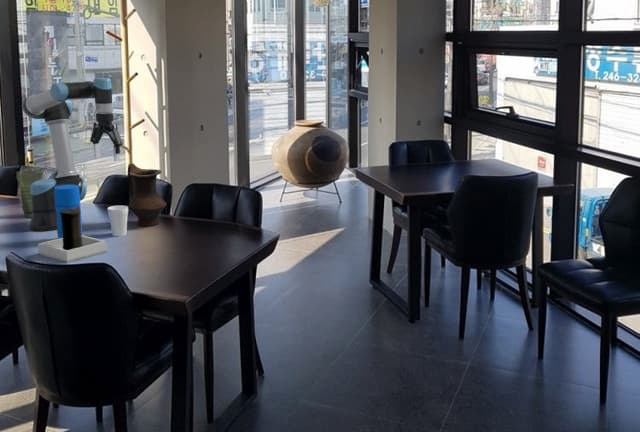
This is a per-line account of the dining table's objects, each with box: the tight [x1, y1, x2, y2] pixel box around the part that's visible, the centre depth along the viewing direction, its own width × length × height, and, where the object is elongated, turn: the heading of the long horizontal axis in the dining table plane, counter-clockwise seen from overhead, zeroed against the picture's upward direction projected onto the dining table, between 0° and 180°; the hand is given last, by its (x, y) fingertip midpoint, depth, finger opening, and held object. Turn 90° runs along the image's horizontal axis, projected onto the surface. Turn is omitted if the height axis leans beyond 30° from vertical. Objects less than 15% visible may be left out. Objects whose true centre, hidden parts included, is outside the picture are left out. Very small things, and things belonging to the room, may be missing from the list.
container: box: [60, 209, 83, 250], centre depth 318 cm, size 9×9×18 cm
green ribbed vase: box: [15, 167, 45, 218], centre depth 385 cm, size 11×12×25 cm
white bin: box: [37, 234, 108, 264], centre depth 319 cm, size 20×20×5 cm
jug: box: [127, 162, 167, 227], centre depth 369 cm, size 21×18×30 cm
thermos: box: [54, 185, 83, 239], centre depth 339 cm, size 11×11×25 cm
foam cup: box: [107, 205, 129, 237], centre depth 350 cm, size 10×9×13 cm
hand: (107, 159), depth 339 cm, fingers open, 13 cm apart
